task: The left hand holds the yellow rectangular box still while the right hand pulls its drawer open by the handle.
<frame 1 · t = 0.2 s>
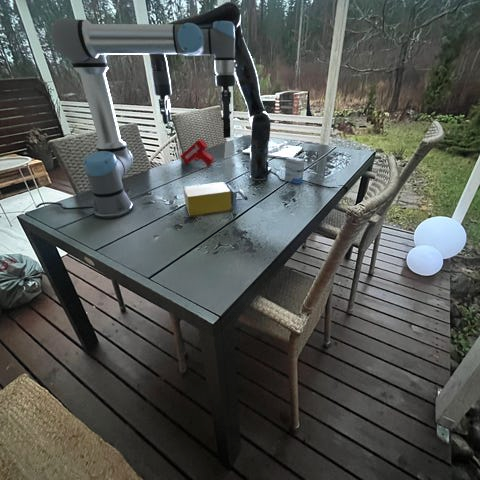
left hand: (227, 134, 113), 28 cm above the table, tool pointing down, fingers open, 13 cm apart
right hand: (167, 122, 130), 29 cm above the table, tool pointing down, fingers open, 8 cm apart
drawer: (220, 197, 116), point 5 cm above the table, slide at 1.3 cm
relief map: (273, 151, 194), on the table
ink box: (293, 181, 143), on the table
toy gun: (197, 164, 170), on the table
yellow rectangular box: (207, 208, 117), on the table
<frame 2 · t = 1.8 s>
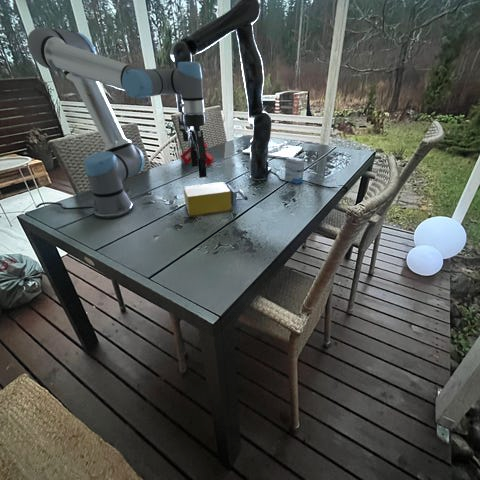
left hand: (198, 171, 108), 16 cm above the table, tool pointing down, fingers open, 13 cm apart
right hand: (189, 139, 125), 23 cm above the table, tool pointing down, fingers open, 8 cm apart
nothing on the table moved.
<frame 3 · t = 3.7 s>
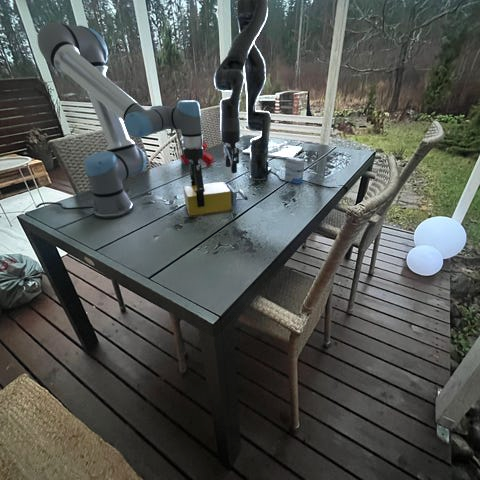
left hand: (198, 200, 113), 4 cm above the table, tool pointing down, fingers closed on yellow rectangular box, 11 cm apart
right hand: (231, 169, 114), 15 cm above the table, tool pointing down, fingers open, 8 cm apart
yellow rectangular box: (207, 208, 117), on the table, touching left hand
everything else where it was.
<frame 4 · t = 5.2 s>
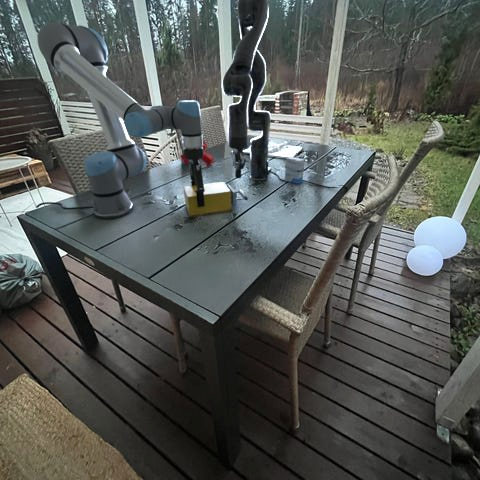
left hand: (198, 200, 113), 4 cm above the table, tool pointing down, fingers closed on yellow rectangular box, 11 cm apart
right hand: (238, 177, 114), 12 cm above the table, tool pointing down, fingers closed
yellow rectangular box: (208, 208, 117), on the table, touching left hand
everything else where it was.
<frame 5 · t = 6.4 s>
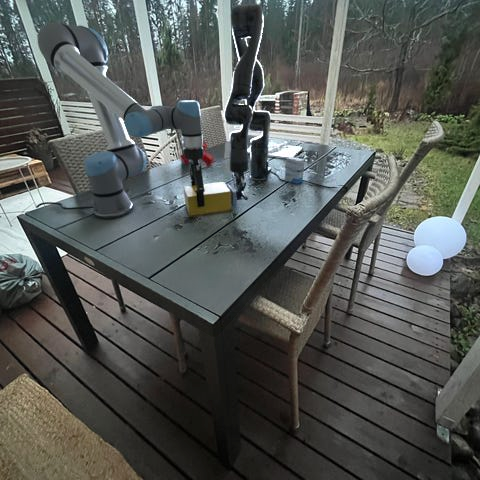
left hand: (198, 200, 113), 4 cm above the table, tool pointing down, fingers closed on yellow rectangular box, 11 cm apart
right hand: (238, 198, 119), 3 cm above the table, tool pointing down, fingers closed
drawer: (220, 197, 116), point 5 cm above the table, slide at 1.3 cm, touching right hand
yellow rectangular box: (208, 208, 117), on the table, touching left hand
everything else where it was.
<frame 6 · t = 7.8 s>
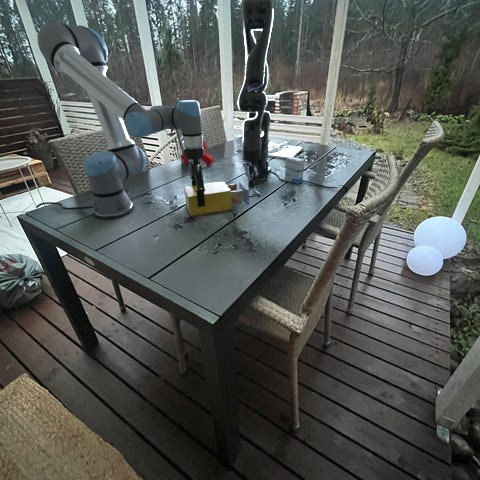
left hand: (198, 200, 113), 4 cm above the table, tool pointing down, fingers closed on yellow rectangular box, 11 cm apart
right hand: (251, 188, 118), 7 cm above the table, tool pointing down, fingers closed
drawer: (233, 194, 117), point 5 cm above the table, slide at 6.8 cm
yellow rectangular box: (208, 208, 117), on the table, touching left hand
everything else where it was.
when the left hand's fingers open (4 cm above the table, at t = 9.2 s): yellow rectangular box stays where it is, on the table.
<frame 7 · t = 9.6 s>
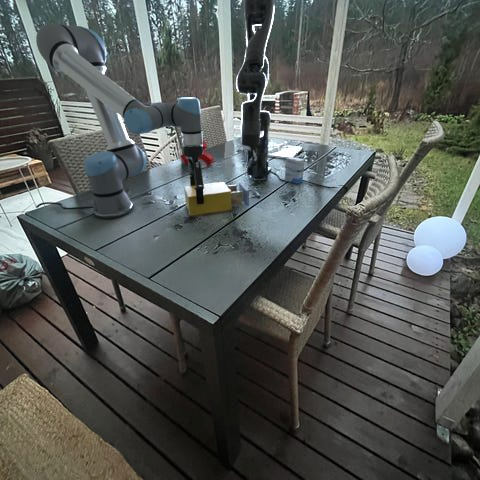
left hand: (197, 197, 113), 6 cm above the table, tool pointing down, fingers open, 13 cm apart
right hand: (250, 174, 115), 13 cm above the table, tool pointing down, fingers closed
yellow rectangular box: (208, 208, 117), on the table
everything else where it was.
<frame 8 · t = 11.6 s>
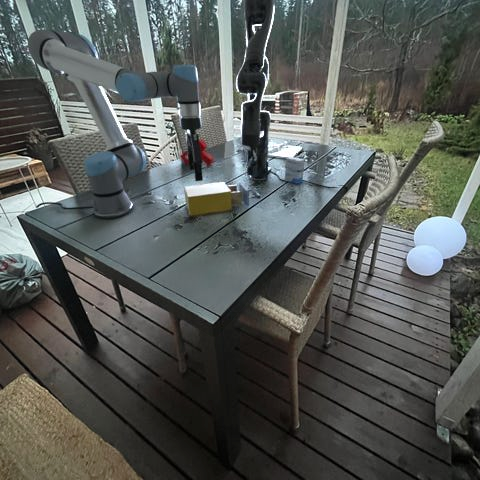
left hand: (195, 175, 107), 15 cm above the table, tool pointing down, fingers open, 13 cm apart
right hand: (250, 174, 115), 13 cm above the table, tool pointing down, fingers closed
nothing on the table moved.
at the end: drawer slide at 6.8 cm; yellow rectangular box tilted 0°; yellow rectangular box never tilted more than 1° during the clip; yellow rectangular box moved 0.2 cm from its start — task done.
